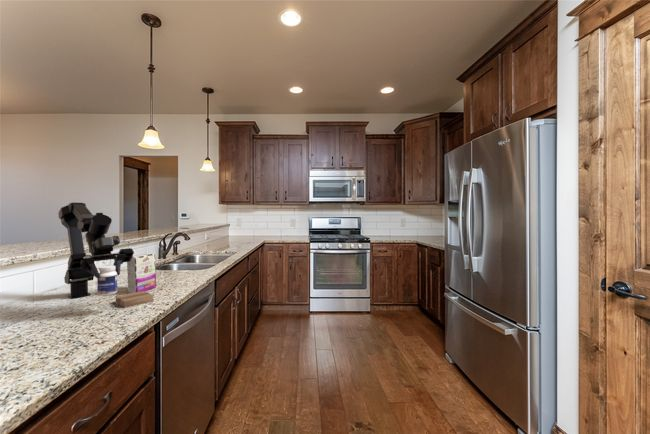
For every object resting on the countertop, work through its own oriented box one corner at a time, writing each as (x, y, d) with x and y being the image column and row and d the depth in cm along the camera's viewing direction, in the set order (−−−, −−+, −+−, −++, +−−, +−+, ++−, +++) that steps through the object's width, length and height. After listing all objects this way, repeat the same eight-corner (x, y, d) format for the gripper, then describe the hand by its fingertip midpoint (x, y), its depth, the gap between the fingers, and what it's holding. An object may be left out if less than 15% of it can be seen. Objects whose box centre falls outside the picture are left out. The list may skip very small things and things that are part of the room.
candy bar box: (147, 286, 135) (147, 253, 135) (156, 287, 134) (155, 253, 134) (126, 293, 124) (126, 256, 124) (136, 294, 123) (135, 257, 123)
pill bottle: (96, 297, 98) (95, 268, 97) (99, 292, 103) (98, 265, 102) (116, 294, 101) (116, 267, 100) (118, 290, 106) (118, 264, 105)
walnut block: (115, 302, 112) (115, 296, 112) (143, 296, 120) (143, 290, 120) (124, 307, 106) (123, 301, 106) (153, 301, 114) (153, 295, 114)
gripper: (69, 230, 96) (80, 266, 90) (131, 227, 111) (144, 258, 105) (63, 251, 100) (73, 286, 94) (123, 245, 116) (135, 276, 110)
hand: (109, 276), depth 101 cm, fingers closed on pill bottle, 6 cm apart
